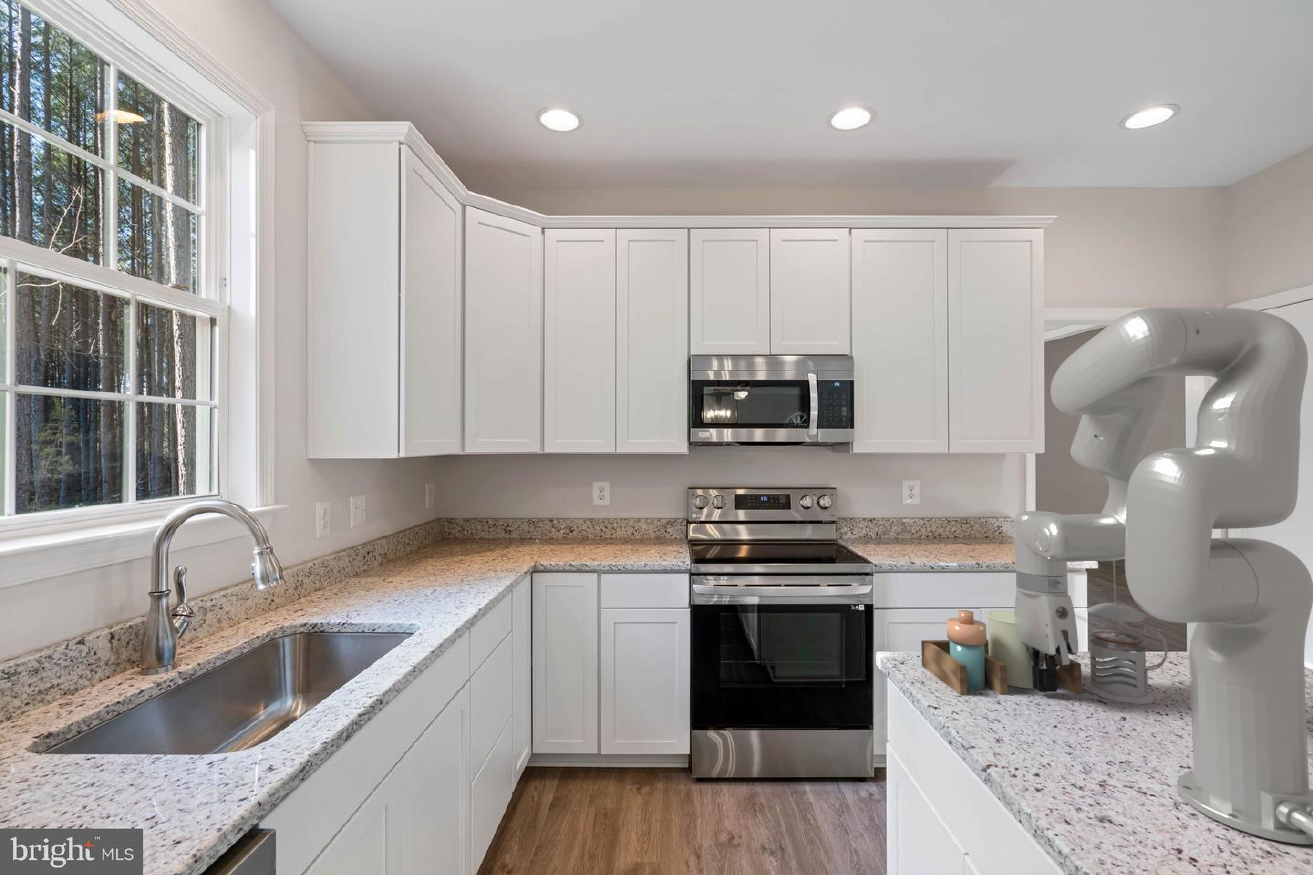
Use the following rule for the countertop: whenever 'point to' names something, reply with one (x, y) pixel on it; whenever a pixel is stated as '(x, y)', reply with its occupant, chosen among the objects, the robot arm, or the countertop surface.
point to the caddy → (995, 671)
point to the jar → (971, 662)
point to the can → (1009, 648)
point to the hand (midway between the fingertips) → (1045, 689)
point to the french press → (1120, 656)
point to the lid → (966, 629)
